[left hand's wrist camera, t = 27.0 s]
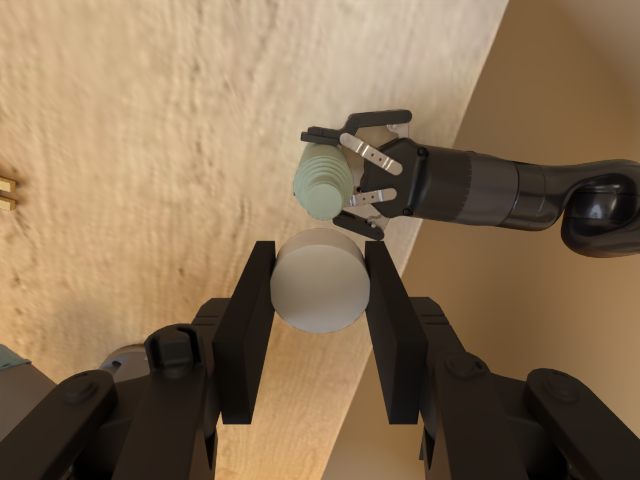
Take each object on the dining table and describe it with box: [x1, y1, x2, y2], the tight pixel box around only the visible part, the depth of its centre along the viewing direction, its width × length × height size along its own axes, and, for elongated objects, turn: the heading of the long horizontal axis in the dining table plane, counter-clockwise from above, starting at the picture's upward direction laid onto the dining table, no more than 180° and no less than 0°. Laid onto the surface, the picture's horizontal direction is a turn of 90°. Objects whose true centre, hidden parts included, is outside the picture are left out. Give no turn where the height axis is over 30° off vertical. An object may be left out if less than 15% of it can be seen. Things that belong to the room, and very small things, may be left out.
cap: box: [270, 228, 370, 333], centre depth 14 cm, size 4×4×2 cm
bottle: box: [293, 142, 354, 220], centre depth 33 cm, size 5×5×20 cm
